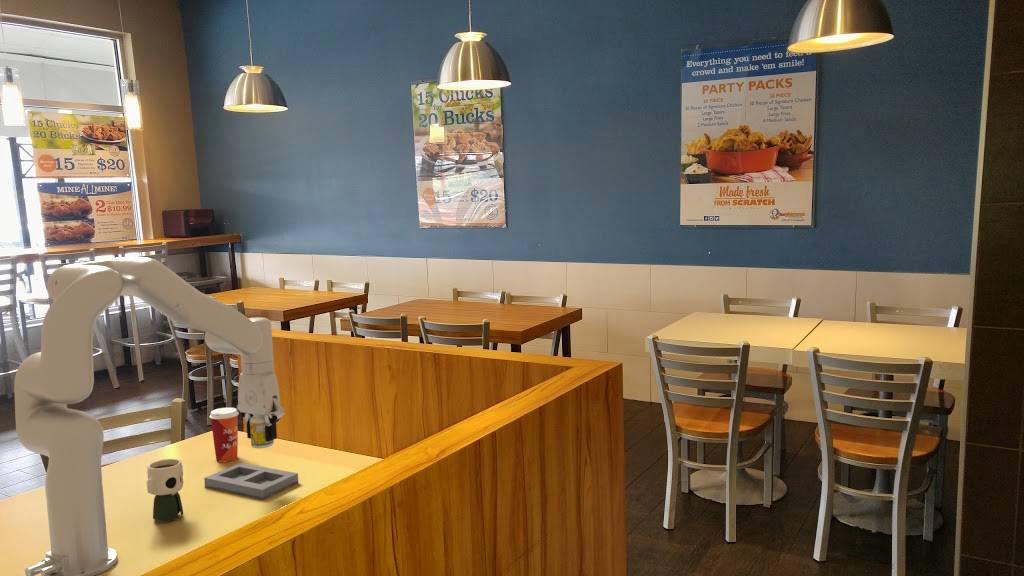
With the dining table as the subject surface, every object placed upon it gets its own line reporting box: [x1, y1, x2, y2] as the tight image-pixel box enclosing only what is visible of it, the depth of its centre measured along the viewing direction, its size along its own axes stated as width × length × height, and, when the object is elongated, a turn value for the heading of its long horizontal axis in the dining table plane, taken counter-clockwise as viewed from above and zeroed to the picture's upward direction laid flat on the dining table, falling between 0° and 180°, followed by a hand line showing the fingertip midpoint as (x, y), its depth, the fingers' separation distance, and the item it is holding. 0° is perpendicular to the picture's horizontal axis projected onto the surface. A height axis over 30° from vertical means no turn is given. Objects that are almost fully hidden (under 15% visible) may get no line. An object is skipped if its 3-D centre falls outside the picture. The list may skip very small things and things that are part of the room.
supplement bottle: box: [250, 414, 275, 449], centre depth 182 cm, size 5×5×10 cm
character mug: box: [146, 458, 184, 523], centre depth 165 cm, size 11×7×13 cm, turn 166°
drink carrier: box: [203, 462, 299, 500], centre depth 185 cm, size 12×20×2 cm, turn 64°
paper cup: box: [209, 407, 240, 463], centre depth 205 cm, size 8×8×14 cm
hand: (262, 437), depth 182 cm, fingers closed on supplement bottle, 5 cm apart
